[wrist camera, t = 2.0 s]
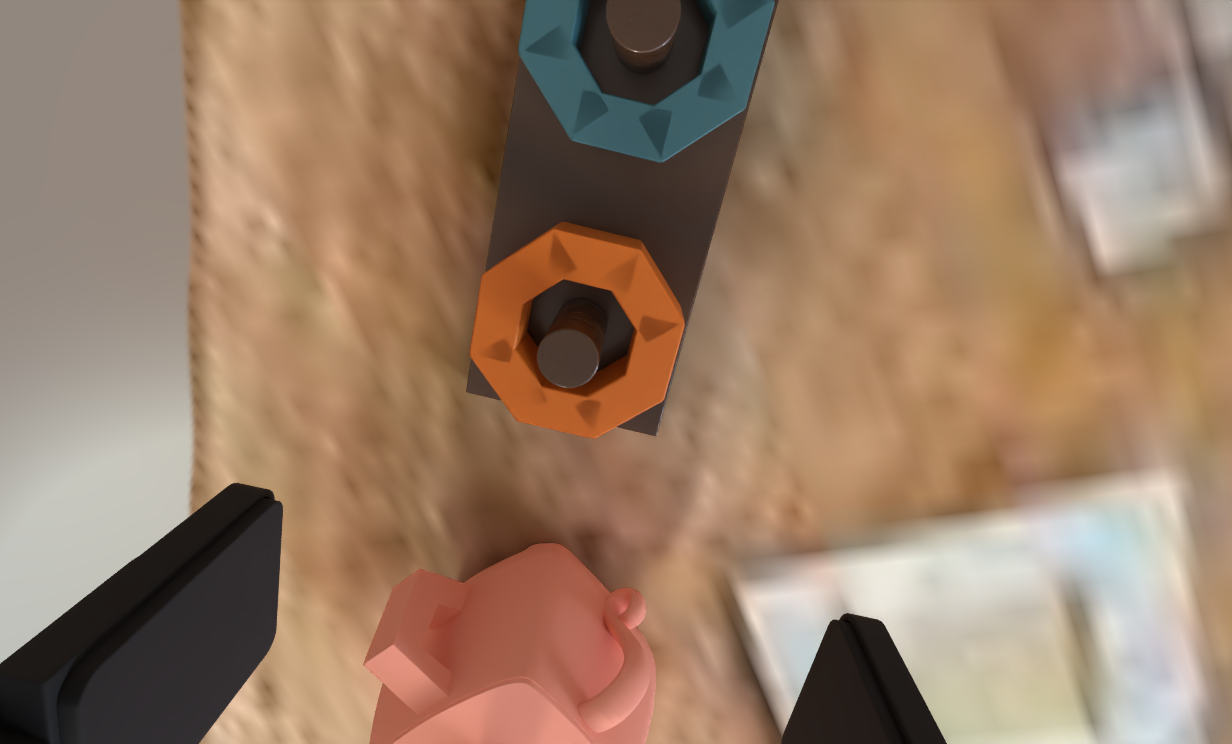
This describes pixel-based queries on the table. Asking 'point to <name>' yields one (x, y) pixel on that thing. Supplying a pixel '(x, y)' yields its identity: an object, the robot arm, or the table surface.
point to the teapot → (513, 657)
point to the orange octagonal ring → (514, 353)
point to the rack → (612, 189)
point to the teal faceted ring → (720, 91)
